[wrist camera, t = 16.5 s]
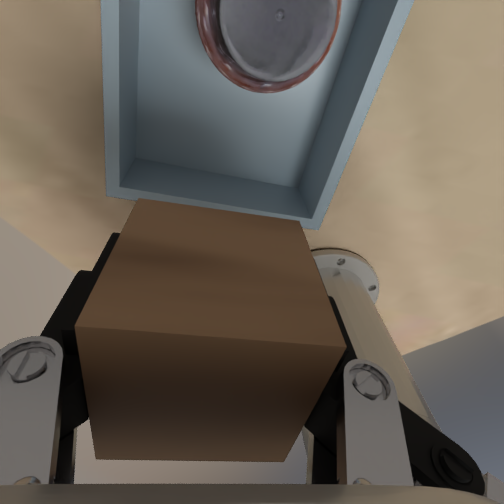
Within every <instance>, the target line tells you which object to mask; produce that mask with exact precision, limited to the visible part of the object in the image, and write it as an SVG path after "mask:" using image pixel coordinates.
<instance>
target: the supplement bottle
mask: <svg viewBox="0 0 504 504" xmlns="http://www.w3.org/2000/svg"><path fill="white" fill-rule="evenodd" d="M341 6H342V0H195V15H196V21H197V28H198V31H199V35H200V39H201V41H202V44H203V46H204V49H205V51H206V53H207V54H208V56H209V58H210V59H211V61H212V63H213V64H214V65H215V67H216V68H217V69H218V71H219V72H220V73H222V75H223V76H225V77H226V78H227V79H228V80H230V81H231V82H232V83H234V84H236V85H237V86H239V87H241V88H243V89H246V90H248V91H252V92H257V93H276V92H281V91H284V90H287V89H290V88H293V87H295V86H297V85H299V84H300V83H301V82H303V81H304V80H305V79H307V78H308V77H309V76H311V75H312V74H313V73H314V71H315V70H316V69H317V68H318V67H319V66H320V64H321V63H322V62H323V60H324V59H325V57H326V56H327V54H328V52H329V50H330V48H331V46H332V44H333V42H334V39H335V36H336V33H337V30H338V25H339V22H340V15H341Z"/></svg>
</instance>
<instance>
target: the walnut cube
mask: <svg viewBox="0 0 504 504" xmlns="http://www.w3.org/2000/svg"><path fill="white" fill-rule="evenodd" d="M75 332H76V339H77V345H78V351H79V357H80V364H81V370H82V376H83V382H84V388H85V395H86V401H87V407H88V413H89V420H90V426H91V432H92V438H93V445H94V450H95V457H96V459H104V460H105V459H106V460H109V459H110V460H173V461H174V460H176V461H180V460H181V461H243V462H246V461H247V462H250V461H251V462H284V461H285V459H286V457H287V455H288V453H289V451H290V450H291V448H292V446H293V444H294V443H295V441H296V439H297V437H298V435H299V433H300V432H301V430H302V428H303V426H304V424H305V422H306V421H307V419H308V417H309V415H310V413H311V411H312V410H313V408H314V406H315V404H316V402H317V400H318V399H319V397H320V395H321V393H322V391H323V389H324V388H325V386H326V384H327V382H328V380H329V378H330V377H331V375H332V373H333V371H334V369H335V368H336V366H337V364H338V362H339V360H340V358H341V357H342V355H343V353H344V351H345V349H346V347H347V346H346V344H345V341H344V338H343V336H342V333H341V330H340V328H339V325H338V322H337V320H336V317H335V314H334V312H333V309H332V306H331V304H330V301H329V298H328V296H327V293H326V290H325V288H324V285H323V282H322V280H321V277H320V274H319V272H318V269H317V266H316V264H315V261H314V258H313V256H312V253H311V250H310V248H309V245H308V242H307V240H306V237H305V234H304V232H303V229H302V227H301V224H300V221H297V220H290V219H283V218H276V217H269V216H262V215H255V214H248V213H241V212H234V211H227V210H220V209H213V208H206V207H199V206H192V205H185V204H178V203H171V202H164V201H157V200H150V199H143V198H138V200H137V202H136V204H135V206H134V208H133V210H132V212H131V214H130V216H129V218H128V220H127V222H126V224H125V226H124V228H123V230H122V232H121V234H120V236H119V238H118V240H117V242H116V244H115V246H114V248H113V250H112V252H111V254H110V256H109V258H108V260H107V262H106V264H105V266H104V268H103V270H102V272H101V274H100V276H99V278H98V280H97V282H96V284H95V286H94V288H93V290H92V292H91V294H90V296H89V298H88V300H87V302H86V304H85V306H84V308H83V310H82V312H81V314H80V316H79V318H78V320H77V322H76V324H75Z"/></svg>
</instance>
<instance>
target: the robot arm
mask: <svg viewBox="0 0 504 504" xmlns="http://www.w3.org/2000/svg"><path fill="white" fill-rule="evenodd" d="M120 234H121V233H112V235H111V237H110V238H109V240H108V242H107V244H106V246H105V248H104V250H103V251H102V253H101V255H100V257H99V259H98V261H97V263H96V265H95V266H94V268H93V270H92V271H85V270H80V271H79V272H78V273H77V274H76V276H75V277H74V279H73V281H72V282H71V284H70V286H69V288H68V289H67V291H66V293H65V294H64V296H63V298H62V299H61V301H60V303H59V305H58V306H57V308H56V310H55V311H54V313H53V315H52V316H51V318H50V320H49V321H48V323H47V325H46V326H45V328H44V330H43V331H42V333H41V335H40V336H31V337H27V338H23V339H19V340H17V341H14V342H12V343H10V344H8V345H7V346H5V347H4V348H2V349H0V504H504V483H503V482H502V481H500V480H499V479H497V478H496V477H494V476H493V475H491V474H490V473H488V472H487V473H486V474H485V475H483V474H482V473H481V471H480V469H479V468H478V466H477V464H476V462H475V461H474V460H473V459H472V458H471V456H470V455H469V454H468V453H467V452H466V451H465V450H463V449H462V448H461V447H460V446H459V445H458V444H456V443H455V442H453V441H452V440H451V439H449V438H448V437H447V436H445V435H444V434H443V433H442V431H441V429H440V427H439V426H438V424H437V422H436V420H435V418H434V417H433V415H432V413H431V411H430V409H429V407H428V405H427V403H426V401H425V400H424V398H423V396H422V394H421V392H420V390H419V388H418V386H417V385H416V383H415V381H414V379H413V377H412V375H411V373H410V372H409V369H408V367H407V366H406V364H405V362H404V360H403V358H402V356H401V354H400V352H399V350H398V349H397V347H396V345H395V343H394V341H393V339H392V337H391V335H390V333H389V332H388V330H387V328H386V326H385V324H384V322H383V320H382V318H381V316H380V315H379V313H378V311H377V309H376V307H375V303H376V301H377V298H378V294H379V281H378V278H377V275H376V273H375V272H374V270H373V268H372V267H371V266H370V264H369V263H368V262H367V261H366V260H364V259H363V258H362V257H360V256H359V255H356V254H354V253H351V252H348V251H343V250H333V249H326V250H318V251H313V252H311V253H312V256H313V258H314V261H315V264H316V266H317V269H318V272H319V274H320V277H321V280H322V282H323V285H324V288H325V290H326V293H327V296H328V298H329V301H330V304H331V306H332V309H333V312H334V314H335V317H336V320H337V322H338V325H339V328H340V330H341V333H342V336H343V338H344V341H345V344H346V346H347V347H346V349H345V351H344V353H343V355H342V357H341V358H340V360H339V362H338V364H337V366H336V368H335V369H334V371H333V373H332V375H331V377H330V378H329V380H328V382H327V384H326V386H325V388H324V389H323V391H322V393H321V395H320V397H319V399H318V400H317V402H316V404H315V406H314V408H313V410H312V411H311V413H310V415H309V417H308V419H307V421H306V422H305V424H304V426H303V428H302V435H303V440H304V445H305V450H306V455H307V472H306V484H74V473H75V456H76V441H77V427H78V426H79V425H81V424H82V423H84V422H85V421H86V420H88V418H89V413H88V407H87V401H86V395H85V388H84V382H83V376H82V370H81V364H80V357H79V351H78V345H77V339H76V332H75V324H76V322H77V320H78V318H79V316H80V314H81V312H82V310H83V308H84V306H85V304H86V302H87V300H88V298H89V296H90V294H91V292H92V290H93V288H94V286H95V284H96V282H97V280H98V278H99V276H100V274H101V272H102V270H103V268H104V266H105V264H106V262H107V260H108V258H109V256H110V254H111V252H112V250H113V248H114V246H115V244H116V242H117V240H118V238H119V236H120Z"/></svg>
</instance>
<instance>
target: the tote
mask: <svg viewBox="0 0 504 504" xmlns="http://www.w3.org/2000/svg"><path fill="white" fill-rule="evenodd" d="M413 2H414V0H342V6H341V15H340V22H339V25H338V30H337V33H336V36H335V39H334V42H333V44H332V46H331V48H330V50H329V52H328V54H327V56H326V57H325V59H324V60H323V62H322V63H321V64H320V66H319V67H318V68H317V69H316V70H315V71H314V73H313V74H312V75H311V76H309V77H308V78H307V79H305V80H304V81H303V82H301V83H300V84H299V85H297V86H295V87H293V88H290V89H287V90H284V91H281V92H276V93H257V92H252V91H248V90H246V89H243V88H241V87H239V86H237V85H236V84H234V83H232V82H231V81H230V80H228V79H227V78H226V77H225V76H223V75H222V73H220V72H219V71H218V69H217V68H216V67H215V65H214V64H213V63H212V61H211V59H210V58H209V56H208V54H207V53H206V51H205V49H204V46H203V44H202V41H201V39H200V35H199V31H198V28H197V21H196V15H195V0H101V32H102V67H103V102H104V138H105V173H106V196H109V197H115V198H121V199H127V200H134V201H137V200H138V198H143V199H150V200H157V201H164V202H171V203H178V204H185V205H192V206H199V207H206V208H213V209H220V210H227V211H234V212H241V213H248V214H255V215H262V216H269V217H276V218H283V219H290V220H297V221H300V224H301V227H302V228H307V229H313V230H319V228H320V226H321V223H322V221H323V218H324V216H325V214H326V211H327V209H328V206H329V204H330V202H331V199H332V197H333V194H334V192H335V190H336V187H337V185H338V182H339V180H340V178H341V175H342V173H343V170H344V168H345V166H346V163H347V161H348V158H349V156H350V154H351V151H352V149H353V146H354V144H355V141H356V139H357V137H358V134H359V132H360V129H361V127H362V125H363V122H364V120H365V117H366V115H367V113H368V110H369V108H370V105H371V103H372V101H373V98H374V96H375V93H376V91H377V89H378V86H379V84H380V81H381V79H382V77H383V74H384V72H385V69H386V67H387V65H388V62H389V60H390V57H391V55H392V53H393V50H394V48H395V45H396V43H397V41H398V38H399V36H400V33H401V31H402V29H403V26H404V24H405V21H406V19H407V17H408V14H409V12H410V9H411V7H412V5H413Z"/></svg>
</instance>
